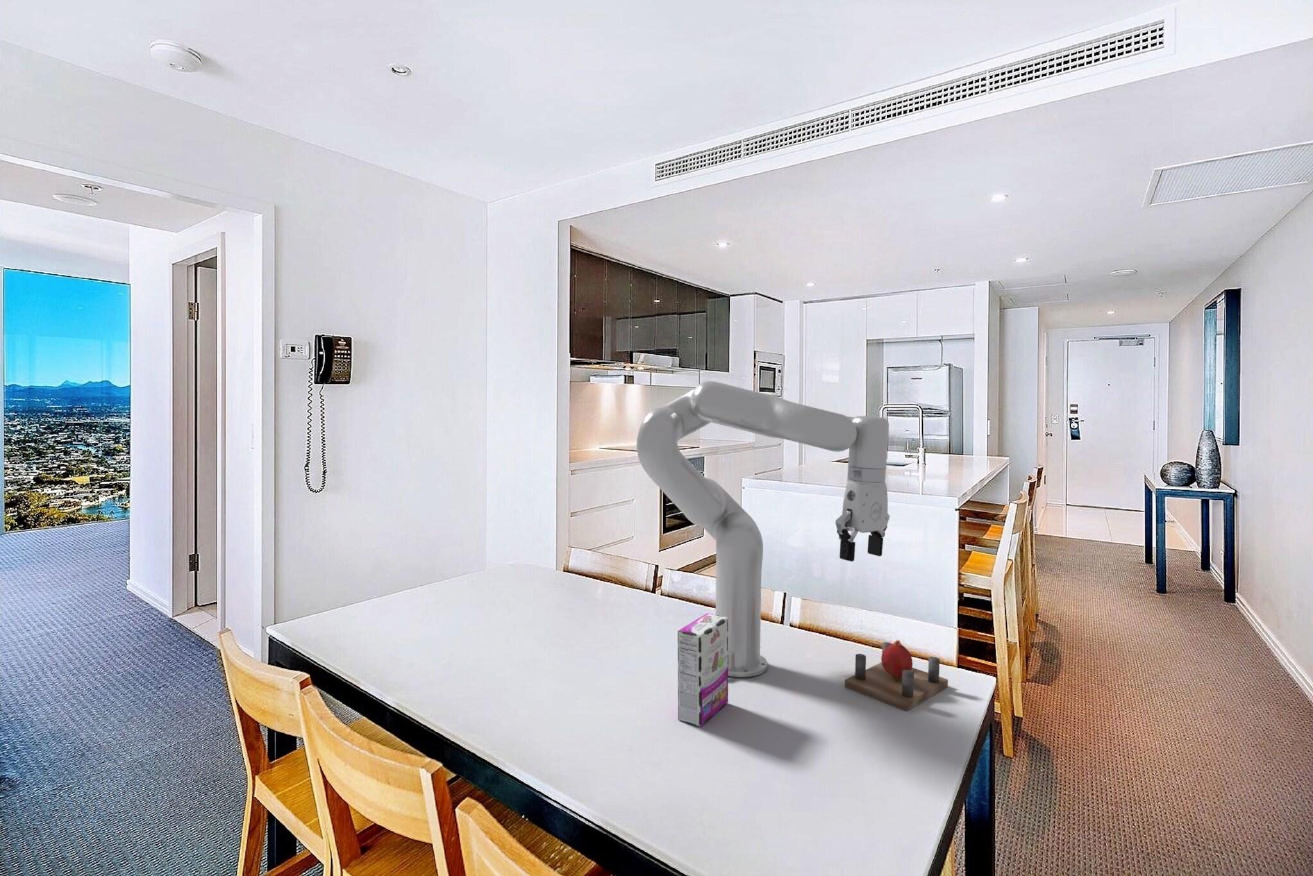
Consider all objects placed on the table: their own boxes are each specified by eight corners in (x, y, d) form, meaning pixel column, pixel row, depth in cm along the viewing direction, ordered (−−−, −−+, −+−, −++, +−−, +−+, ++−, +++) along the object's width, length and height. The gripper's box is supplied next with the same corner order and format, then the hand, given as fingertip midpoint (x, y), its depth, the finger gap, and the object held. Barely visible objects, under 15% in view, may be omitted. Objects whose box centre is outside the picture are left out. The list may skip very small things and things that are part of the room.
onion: (875, 673, 130) (877, 634, 130) (903, 672, 131) (904, 634, 130) (888, 686, 125) (889, 645, 124) (917, 685, 125) (918, 644, 125)
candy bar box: (705, 696, 123) (706, 612, 122) (728, 703, 120) (730, 616, 119) (675, 720, 113) (676, 629, 112) (700, 728, 111) (701, 635, 110)
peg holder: (906, 711, 118) (907, 679, 117) (844, 686, 127) (845, 657, 127) (947, 686, 128) (948, 657, 128) (887, 666, 138) (888, 638, 137)
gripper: (856, 479, 125) (851, 566, 126) (906, 476, 136) (900, 556, 137) (825, 475, 131) (820, 558, 132) (874, 472, 141) (869, 549, 142)
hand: (860, 557), depth 134 cm, fingers open, 9 cm apart
